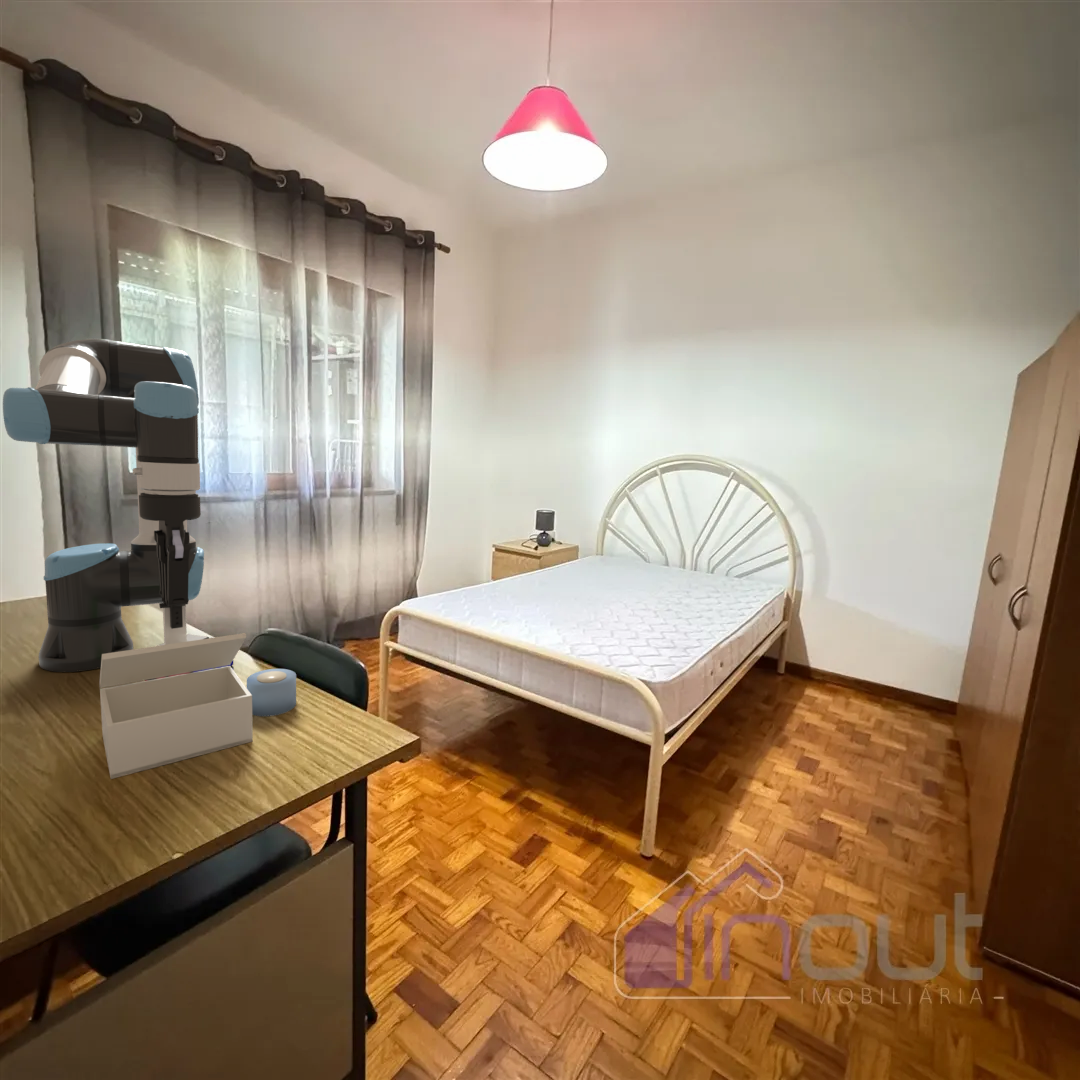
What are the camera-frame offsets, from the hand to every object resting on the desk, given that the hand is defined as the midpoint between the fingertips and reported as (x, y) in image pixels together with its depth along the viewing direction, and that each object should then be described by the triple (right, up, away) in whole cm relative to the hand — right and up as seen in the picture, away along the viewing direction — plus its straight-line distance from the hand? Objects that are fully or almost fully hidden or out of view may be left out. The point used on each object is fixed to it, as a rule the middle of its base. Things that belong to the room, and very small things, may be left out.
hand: (175, 646), depth 85 cm
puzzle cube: (-8, -13, +17) cm, 23 cm away
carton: (-2, -15, +3) cm, 16 cm away
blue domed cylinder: (+7, -14, +16) cm, 22 cm away
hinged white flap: (-2, -3, +2) cm, 4 cm away
